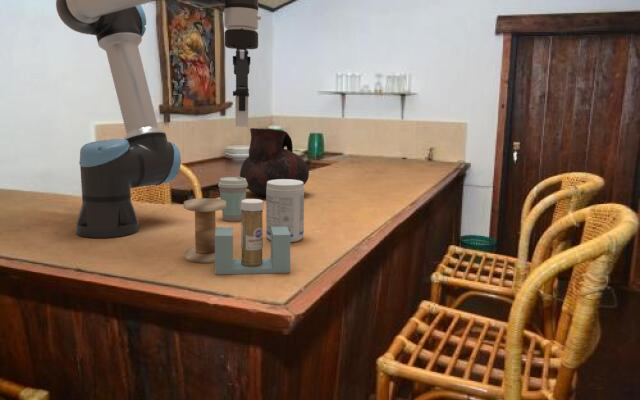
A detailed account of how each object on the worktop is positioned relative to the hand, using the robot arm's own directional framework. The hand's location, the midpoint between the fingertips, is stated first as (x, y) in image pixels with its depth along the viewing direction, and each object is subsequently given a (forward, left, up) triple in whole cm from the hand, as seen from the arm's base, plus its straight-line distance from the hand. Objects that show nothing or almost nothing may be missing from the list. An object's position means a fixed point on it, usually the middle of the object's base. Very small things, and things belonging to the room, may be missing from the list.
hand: (241, 125), depth 124 cm
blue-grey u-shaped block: (+2, -19, -29) cm, 34 cm away
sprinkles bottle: (+2, -19, -28) cm, 34 cm away
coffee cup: (-2, +28, -29) cm, 40 cm away
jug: (+13, +68, -29) cm, 75 cm away
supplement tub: (+11, +5, -29) cm, 31 cm away
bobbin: (-8, -10, -29) cm, 31 cm away
